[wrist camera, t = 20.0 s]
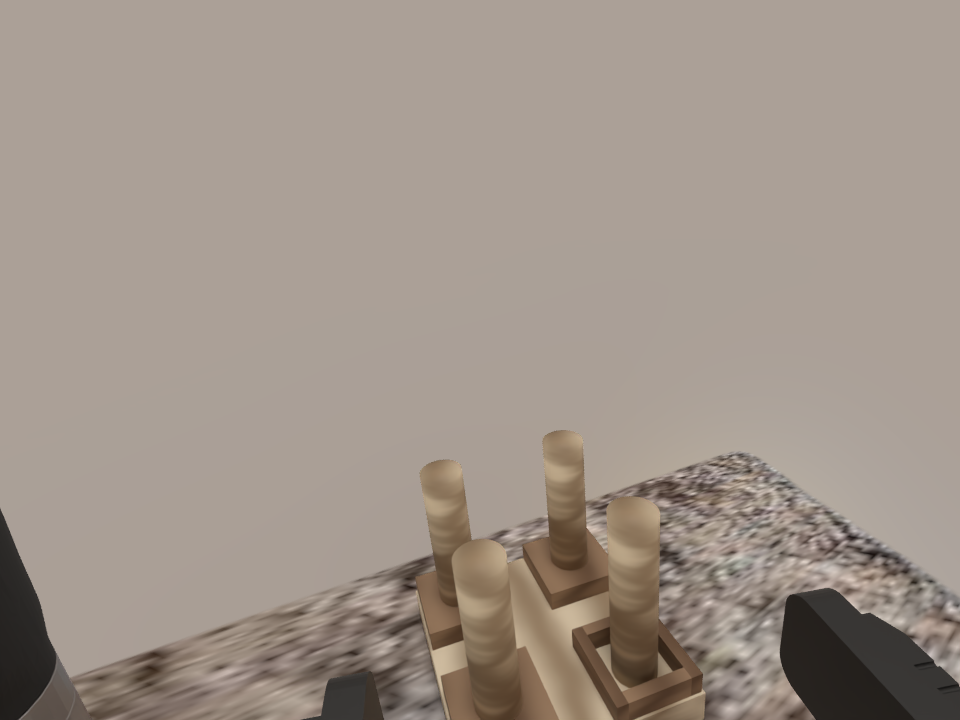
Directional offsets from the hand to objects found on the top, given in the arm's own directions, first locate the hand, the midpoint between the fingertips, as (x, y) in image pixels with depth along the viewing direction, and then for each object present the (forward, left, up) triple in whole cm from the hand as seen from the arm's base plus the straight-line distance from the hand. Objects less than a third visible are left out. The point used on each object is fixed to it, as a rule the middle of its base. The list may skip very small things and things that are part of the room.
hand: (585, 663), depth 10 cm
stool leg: (+2, +26, -32) cm, 41 cm away
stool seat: (-6, +28, -35) cm, 45 cm away
